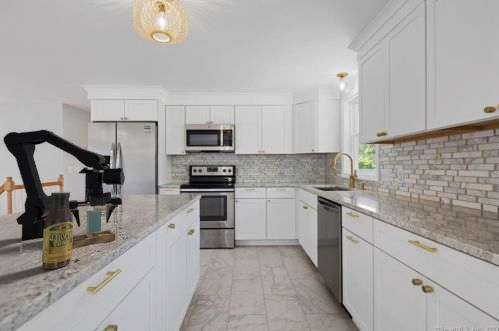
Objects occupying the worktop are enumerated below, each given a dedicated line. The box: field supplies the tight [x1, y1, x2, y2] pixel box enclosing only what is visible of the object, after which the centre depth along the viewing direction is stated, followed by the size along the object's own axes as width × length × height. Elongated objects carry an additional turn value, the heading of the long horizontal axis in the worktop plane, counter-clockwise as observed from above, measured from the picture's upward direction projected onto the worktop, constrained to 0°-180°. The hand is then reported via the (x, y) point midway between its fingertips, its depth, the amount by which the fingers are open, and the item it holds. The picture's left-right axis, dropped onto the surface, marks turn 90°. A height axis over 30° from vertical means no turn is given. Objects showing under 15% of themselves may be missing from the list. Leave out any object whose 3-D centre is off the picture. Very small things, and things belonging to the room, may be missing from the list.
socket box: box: [72, 229, 116, 249], centre depth 81 cm, size 14×8×3 cm, turn 134°
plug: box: [86, 209, 102, 233], centre depth 90 cm, size 4×4×9 cm
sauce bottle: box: [41, 191, 74, 270], centre depth 63 cm, size 7×6×20 cm
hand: (93, 224), depth 90 cm, fingers open, 9 cm apart
